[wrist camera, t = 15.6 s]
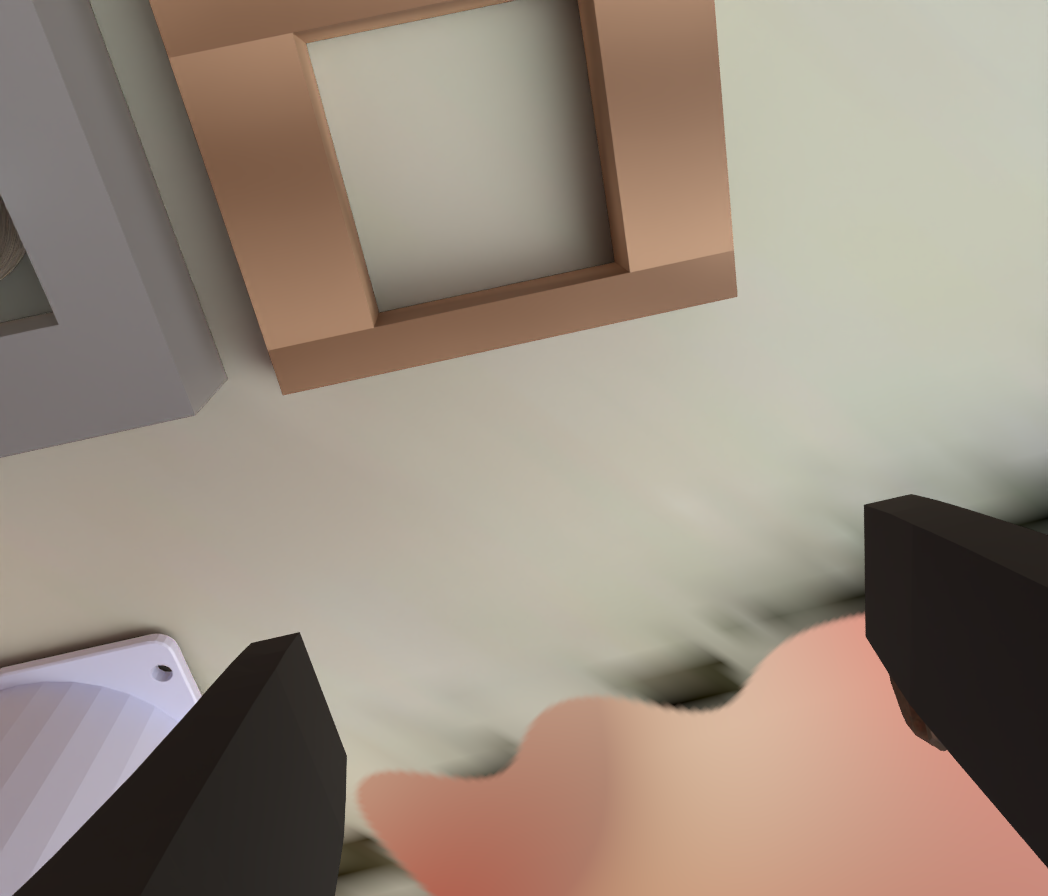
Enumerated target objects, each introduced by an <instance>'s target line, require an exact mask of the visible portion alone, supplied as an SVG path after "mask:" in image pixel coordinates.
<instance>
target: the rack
mask: <svg viewBox="0 0 1048 896" xmlns="http://www.w3.org/2000/svg"><path fill="white" fill-rule="evenodd" d="M0 194H1V197H2V199H3V201H4V203H5V205H6V208H7V210H8V212H9V214H10V217H11V219H12V221H13V223H14V226H15V228H16V230H17V232H18V234H19V237H20V239H21V241H22V243H23V246H24V248H25V250H26V252H27V255H28V257H29V259H30V261H31V264H32V266H33V268H34V270H35V272H36V275H37V277H38V279H39V281H40V284H41V286H42V288H43V290H44V293H45V295H46V297H47V299H48V301H49V304H50V306H51V308H52V310H53V312H49V313H45V314H40V315H35V316H30V317H26V318H21V319H16V320H12V321H7V322H2V323H0V458H1V457H6V456H10V455H15V454H20V453H24V452H29V451H33V450H38V449H43V448H47V447H52V446H56V445H61V444H66V443H70V442H75V441H79V440H84V439H89V438H93V437H98V436H102V435H107V434H112V433H116V432H121V431H126V430H130V429H135V428H139V427H144V426H149V425H153V424H158V423H162V422H167V421H172V420H176V419H181V418H185V417H190V416H195V415H196V414H197V413H198V412H199V410H200V409H201V408H202V407H203V406H204V405H205V404H206V403H207V402H208V400H209V399H210V398H211V397H212V396H213V395H214V394H215V393H216V391H217V390H218V389H219V388H220V387H221V386H222V385H223V384H224V382H225V381H226V380H227V379H228V378H227V376H226V373H225V370H224V368H223V365H222V362H221V359H220V357H219V354H218V351H217V348H216V346H215V343H214V340H213V338H212V335H211V332H210V329H209V327H208V324H207V321H206V318H205V316H204V313H203V310H202V308H201V305H200V302H199V299H198V297H197V294H196V291H195V288H194V286H193V283H192V280H191V278H190V275H189V272H188V269H187V267H186V264H185V261H184V259H183V256H182V253H181V250H180V248H179V245H178V242H177V239H176V237H175V234H174V231H173V229H172V226H171V223H170V220H169V218H168V215H167V212H166V209H165V207H164V204H163V201H162V199H161V196H160V193H159V190H158V188H157V185H156V182H155V179H154V177H153V174H152V171H151V169H150V166H149V163H148V160H147V158H146V155H145V152H144V149H143V147H142V144H141V141H140V139H139V136H138V133H137V130H136V128H135V125H134V122H133V120H132V117H131V114H130V111H129V109H128V106H127V103H126V100H125V98H124V95H123V92H122V90H121V87H120V84H119V81H118V79H117V76H116V73H115V70H114V68H113V65H112V62H111V60H110V57H109V54H108V51H107V49H106V46H105V43H104V40H103V38H102V35H101V32H100V30H99V27H98V24H97V21H96V19H95V16H94V13H93V11H92V8H91V5H90V2H89V0H0Z"/></svg>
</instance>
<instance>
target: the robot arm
mask: <svg viewBox="0 0 1048 896" xmlns="http://www.w3.org/2000/svg"><path fill="white" fill-rule="evenodd" d="M864 539H865V621H866V638H867V639H868V641H869V642H870V644H871V646H872V647H873V649H874V650H875V652H876V653H877V655H878V657H879V659H880V660H881V662H882V663H883V665H884V667H885V668H886V670H887V671H888V673H889V675H890V676H891V677H892V679H893V680H894V682H895V683H896V685H897V686H898V688H899V689H900V691H901V692H902V694H903V695H904V697H905V698H906V700H907V701H908V703H909V704H910V706H911V707H912V708H913V709H914V710H915V712H916V713H917V714H918V715H919V717H920V718H921V719H922V720H923V722H924V723H925V724H926V725H927V726H928V727H929V729H930V730H931V731H932V732H933V733H934V735H935V736H936V737H937V738H938V739H939V741H940V742H941V743H942V744H943V745H944V747H945V748H946V749H947V750H948V751H949V752H950V754H951V755H952V756H953V757H954V759H955V760H956V761H957V762H958V763H959V764H960V766H961V767H962V768H963V769H964V770H965V771H966V772H967V774H968V775H969V776H970V777H971V778H972V780H973V781H974V782H975V783H976V784H977V785H978V787H979V788H980V789H981V790H982V791H983V793H984V794H985V795H986V796H987V797H988V798H989V799H990V801H991V802H992V803H993V804H994V805H995V806H996V808H997V809H998V810H999V811H1000V812H1001V814H1002V815H1003V816H1004V817H1005V818H1006V819H1007V821H1008V822H1009V823H1010V824H1011V825H1012V827H1013V828H1014V829H1015V830H1016V831H1017V832H1018V834H1019V835H1020V836H1021V837H1022V838H1023V839H1024V840H1025V842H1026V843H1027V844H1028V845H1029V846H1030V848H1031V849H1032V850H1033V851H1034V852H1035V854H1036V855H1037V856H1038V857H1039V858H1040V859H1041V861H1042V862H1043V863H1044V864H1045V865H1046V866H1047V868H1048V535H1046V534H1043V533H1040V532H1037V531H1034V530H1031V529H1027V528H1024V527H1021V526H1018V525H1015V524H1012V523H1009V522H1006V521H1003V520H1000V519H996V518H993V517H990V516H987V515H984V514H981V513H978V512H974V511H971V510H968V509H965V508H961V507H958V506H955V505H951V504H948V503H944V502H941V501H937V500H933V499H930V498H925V497H921V496H917V495H912V494H910V495H905V496H901V497H897V498H892V499H888V500H883V501H879V502H874V503H870V504H866V505H864ZM157 665H165V666H167V667H169V668H170V669H171V670H172V671H171V672H165V671H163V670H160V669H159V667H158V666H157ZM346 766H347V755H346V753H345V750H344V747H343V745H342V742H341V740H340V737H339V734H338V732H337V729H336V726H335V724H334V721H333V718H332V716H331V713H330V711H329V708H328V705H327V703H326V700H325V697H324V695H323V692H322V690H321V687H320V684H319V682H318V679H317V676H316V674H315V671H314V669H313V666H312V663H311V661H310V658H309V655H308V653H307V650H306V648H305V645H304V642H303V640H302V637H301V634H300V632H299V633H294V634H290V635H285V636H281V637H276V638H272V639H268V640H263V641H259V642H254V643H251V644H250V645H249V646H248V647H247V648H246V649H245V650H244V651H243V652H242V653H241V654H240V655H239V656H238V657H237V658H236V659H235V660H234V661H233V662H232V663H231V664H230V665H229V666H228V668H227V669H226V670H225V671H224V672H223V673H222V674H221V675H220V676H219V678H218V679H217V680H216V681H215V682H214V683H213V684H212V685H211V687H210V688H209V689H208V690H207V691H206V692H205V693H204V694H203V696H202V695H201V693H200V691H199V689H198V687H197V684H196V682H195V680H194V678H193V676H192V674H191V672H190V669H189V667H188V665H187V663H186V661H185V659H184V656H183V654H182V652H181V650H180V648H179V646H178V644H177V643H176V641H175V640H174V639H172V638H171V637H169V636H168V635H164V634H150V635H145V636H141V637H136V638H132V639H127V640H123V641H118V642H114V643H110V644H105V645H101V646H96V647H92V648H87V649H83V650H78V651H74V652H69V653H65V654H61V655H56V656H52V657H47V658H43V659H38V660H34V661H29V662H25V663H20V664H16V665H12V666H7V667H3V668H0V896H335V891H336V884H337V878H338V872H339V865H340V859H341V852H342V845H343V839H344V823H345V803H346Z"/></svg>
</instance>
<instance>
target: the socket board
mask: <svg viewBox="0 0 1048 896" xmlns="http://www.w3.org/2000/svg"><path fill="white" fill-rule="evenodd" d="M510 1H515V0H149V2H150V5H151V8H152V11H153V14H154V17H155V20H156V23H157V25H158V28H159V31H160V34H161V37H162V40H163V43H164V46H165V49H166V52H167V55H168V58H169V61H170V64H171V67H172V70H173V73H174V76H175V79H176V81H177V84H178V87H179V90H180V93H181V96H182V99H183V102H184V105H185V108H186V111H187V114H188V117H189V120H190V123H191V126H192V129H193V132H194V135H195V138H196V140H197V143H198V146H199V149H200V152H201V155H202V158H203V161H204V164H205V167H206V170H207V173H208V176H209V179H210V182H211V185H212V188H213V191H214V194H215V196H216V199H217V202H218V205H219V208H220V211H221V214H222V217H223V220H224V223H225V226H226V229H227V232H228V235H229V238H230V241H231V244H232V247H233V250H234V253H235V255H236V258H237V261H238V264H239V267H240V270H241V273H242V276H243V279H244V282H245V285H246V288H247V291H248V294H249V297H250V300H251V303H252V306H253V309H254V311H255V314H256V317H257V320H258V323H259V326H260V329H261V332H262V335H263V338H264V341H265V344H266V347H267V350H268V353H269V356H270V359H271V362H272V365H273V368H274V370H275V373H276V376H277V379H278V382H279V385H280V388H281V391H282V394H283V395H287V394H291V393H296V392H300V391H305V390H310V389H314V388H319V387H324V386H328V385H333V384H337V383H342V382H347V381H351V380H356V379H360V378H365V377H370V376H374V375H379V374H383V373H388V372H393V371H397V370H402V369H406V368H411V367H416V366H420V365H425V364H429V363H434V362H439V361H443V360H448V359H452V358H457V357H462V356H466V355H471V354H475V353H480V352H485V351H489V350H494V349H499V348H503V347H508V346H512V345H517V344H522V343H526V342H531V341H535V340H540V339H545V338H549V337H554V336H558V335H563V334H568V333H572V332H577V331H581V330H586V329H591V328H595V327H600V326H604V325H609V324H614V323H618V322H623V321H627V320H632V319H637V318H641V317H646V316H651V315H655V314H660V313H664V312H669V311H674V310H678V309H683V308H687V307H692V306H697V305H701V304H706V303H710V302H715V301H720V300H724V299H729V298H733V297H737V285H736V272H735V259H734V246H733V234H732V221H731V208H730V195H729V182H728V170H727V157H726V144H725V131H724V118H723V106H722V93H721V80H720V67H719V55H718V42H717V29H716V16H715V3H714V0H578V6H579V13H580V20H581V28H582V35H583V42H584V49H585V56H586V63H587V70H588V77H589V84H590V91H591V98H592V105H593V112H594V120H595V127H596V134H597V141H598V148H599V155H600V162H601V169H602V176H603V183H604V190H605V197H606V204H607V212H608V219H609V226H610V233H611V240H612V247H613V254H614V261H615V262H613V263H608V264H604V265H599V266H594V267H590V268H585V269H580V270H576V271H571V272H566V273H562V274H557V275H552V276H548V277H543V278H539V279H534V280H529V281H525V282H520V283H515V284H511V285H506V286H501V287H497V288H492V289H487V290H483V291H478V292H473V293H469V294H464V295H459V296H455V297H450V298H445V299H441V300H436V301H431V302H427V303H422V304H418V305H413V306H408V307H404V308H399V309H394V310H390V311H385V312H380V313H379V310H378V307H377V303H376V299H375V296H374V292H373V288H372V285H371V281H370V277H369V274H368V270H367V266H366V263H365V259H364V255H363V252H362V248H361V244H360V241H359V237H358V233H357V230H356V226H355V222H354V219H353V215H352V211H351V208H350V204H349V200H348V196H347V193H346V189H345V185H344V182H343V178H342V174H341V171H340V167H339V163H338V160H337V156H336V152H335V149H334V145H333V141H332V138H331V134H330V130H329V127H328V123H327V119H326V116H325V112H324V108H323V105H322V101H321V97H320V94H319V90H318V86H317V83H316V79H315V75H314V72H313V68H312V64H311V61H310V57H309V53H308V50H307V46H306V43H309V42H314V41H319V40H324V39H329V38H334V37H339V36H344V35H348V34H353V33H358V32H363V31H368V30H373V29H378V28H383V27H387V26H392V25H397V24H402V23H407V22H412V21H417V20H422V19H427V18H431V17H436V16H441V15H446V14H451V13H456V12H461V11H466V10H471V9H475V8H480V7H485V6H490V5H495V4H500V3H505V2H510Z"/></svg>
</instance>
